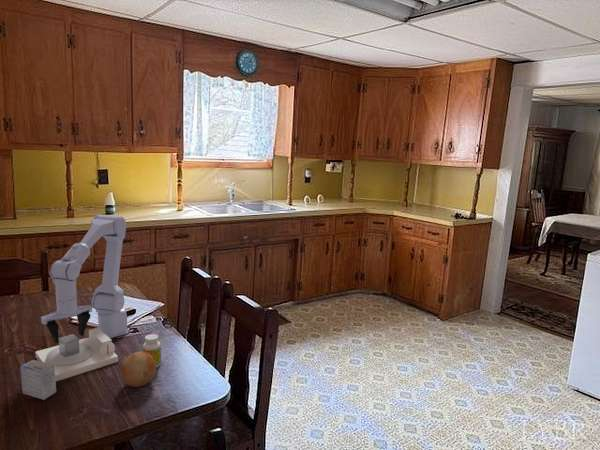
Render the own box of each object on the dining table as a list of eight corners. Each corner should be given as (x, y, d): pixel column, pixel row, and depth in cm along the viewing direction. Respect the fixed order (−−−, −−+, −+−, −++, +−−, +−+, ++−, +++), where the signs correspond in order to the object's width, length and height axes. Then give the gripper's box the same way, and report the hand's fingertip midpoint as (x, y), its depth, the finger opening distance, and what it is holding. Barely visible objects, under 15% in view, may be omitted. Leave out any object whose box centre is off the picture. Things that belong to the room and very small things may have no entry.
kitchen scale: (97, 340, 155) (96, 323, 154) (119, 361, 142) (118, 343, 140) (35, 357, 141) (34, 339, 140) (53, 382, 128) (52, 362, 127)
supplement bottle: (155, 370, 137) (154, 341, 136) (139, 367, 138) (139, 339, 137) (163, 361, 143) (163, 334, 141) (149, 359, 144) (148, 332, 142)
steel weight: (73, 348, 143) (73, 333, 142) (79, 352, 140) (78, 338, 139) (59, 352, 139) (58, 338, 138) (65, 357, 136) (64, 342, 135)
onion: (136, 397, 123) (135, 365, 121) (114, 385, 128) (112, 354, 126) (163, 382, 131) (162, 351, 129) (141, 371, 136) (140, 342, 134)
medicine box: (57, 392, 123) (55, 364, 122) (43, 401, 119) (41, 372, 118) (36, 386, 126) (33, 358, 124) (21, 394, 122) (19, 366, 120)
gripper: (84, 289, 144) (86, 327, 146) (36, 300, 133) (39, 341, 136) (94, 295, 139) (96, 334, 142) (45, 307, 128) (48, 349, 131)
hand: (69, 338), depth 138 cm, fingers open, 7 cm apart
